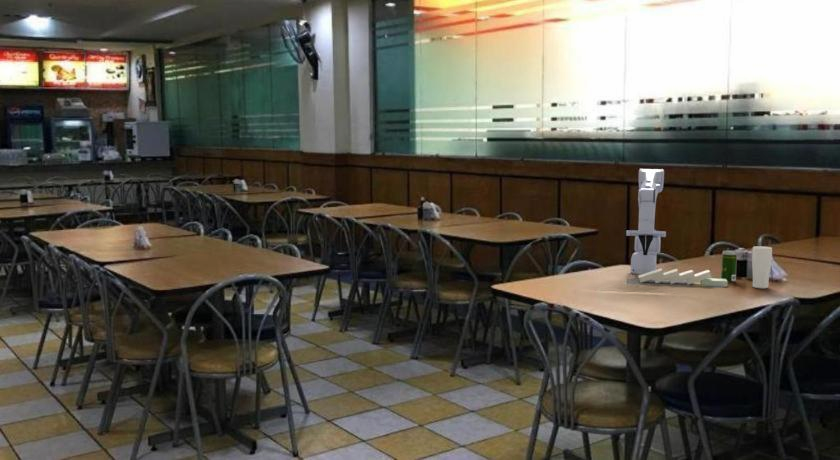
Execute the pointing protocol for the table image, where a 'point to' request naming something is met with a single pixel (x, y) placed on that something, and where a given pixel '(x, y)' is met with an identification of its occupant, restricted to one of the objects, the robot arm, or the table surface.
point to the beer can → (729, 265)
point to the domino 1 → (651, 275)
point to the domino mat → (668, 283)
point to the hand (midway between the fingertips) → (645, 255)
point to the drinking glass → (761, 266)
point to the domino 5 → (714, 282)
